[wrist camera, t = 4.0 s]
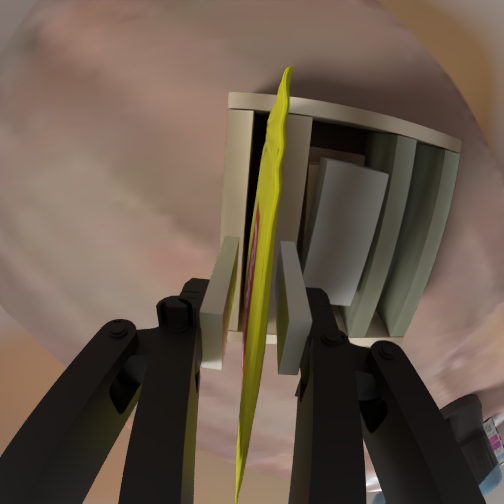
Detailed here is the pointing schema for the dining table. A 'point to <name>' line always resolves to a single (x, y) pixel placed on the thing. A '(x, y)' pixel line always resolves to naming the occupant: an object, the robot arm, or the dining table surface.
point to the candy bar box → (494, 440)
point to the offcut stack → (338, 221)
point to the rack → (389, 221)
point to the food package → (261, 268)
